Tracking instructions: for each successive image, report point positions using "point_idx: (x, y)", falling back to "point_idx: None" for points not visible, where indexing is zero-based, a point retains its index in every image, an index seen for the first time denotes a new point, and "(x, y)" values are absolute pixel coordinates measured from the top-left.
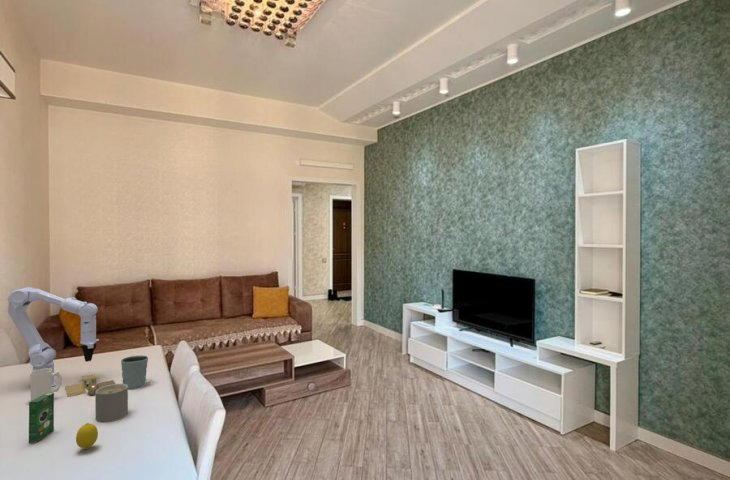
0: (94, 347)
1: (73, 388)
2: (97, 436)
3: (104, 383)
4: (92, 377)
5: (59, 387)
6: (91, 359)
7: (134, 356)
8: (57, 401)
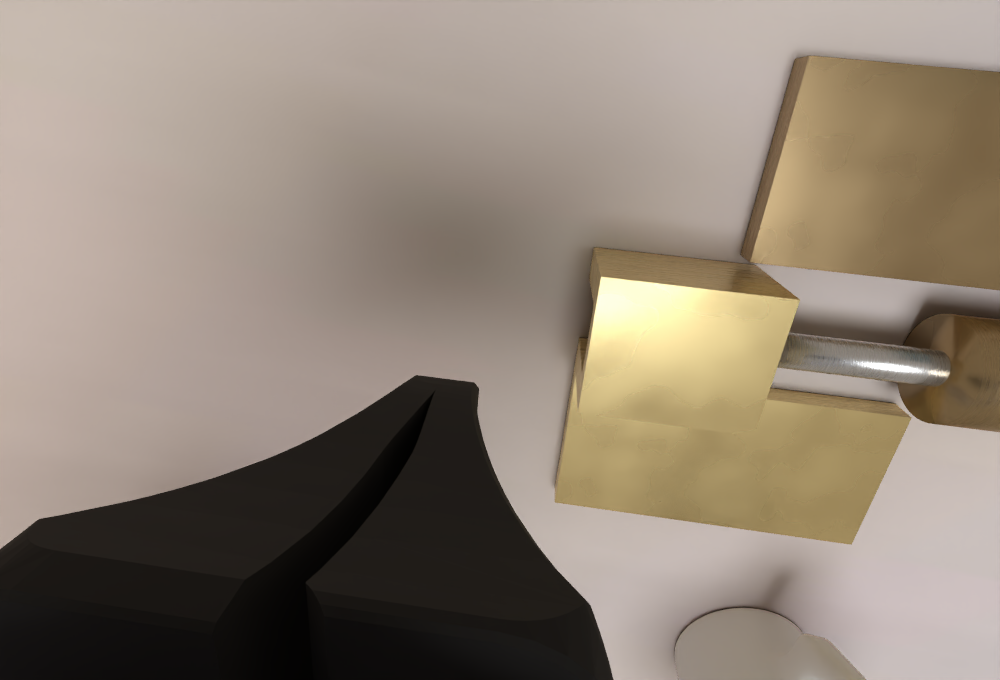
0: (586, 652)
1: (704, 473)
2: None
3: (854, 195)
4: (736, 334)
5: (852, 665)
6: (475, 392)
7: None
8: (870, 594)
